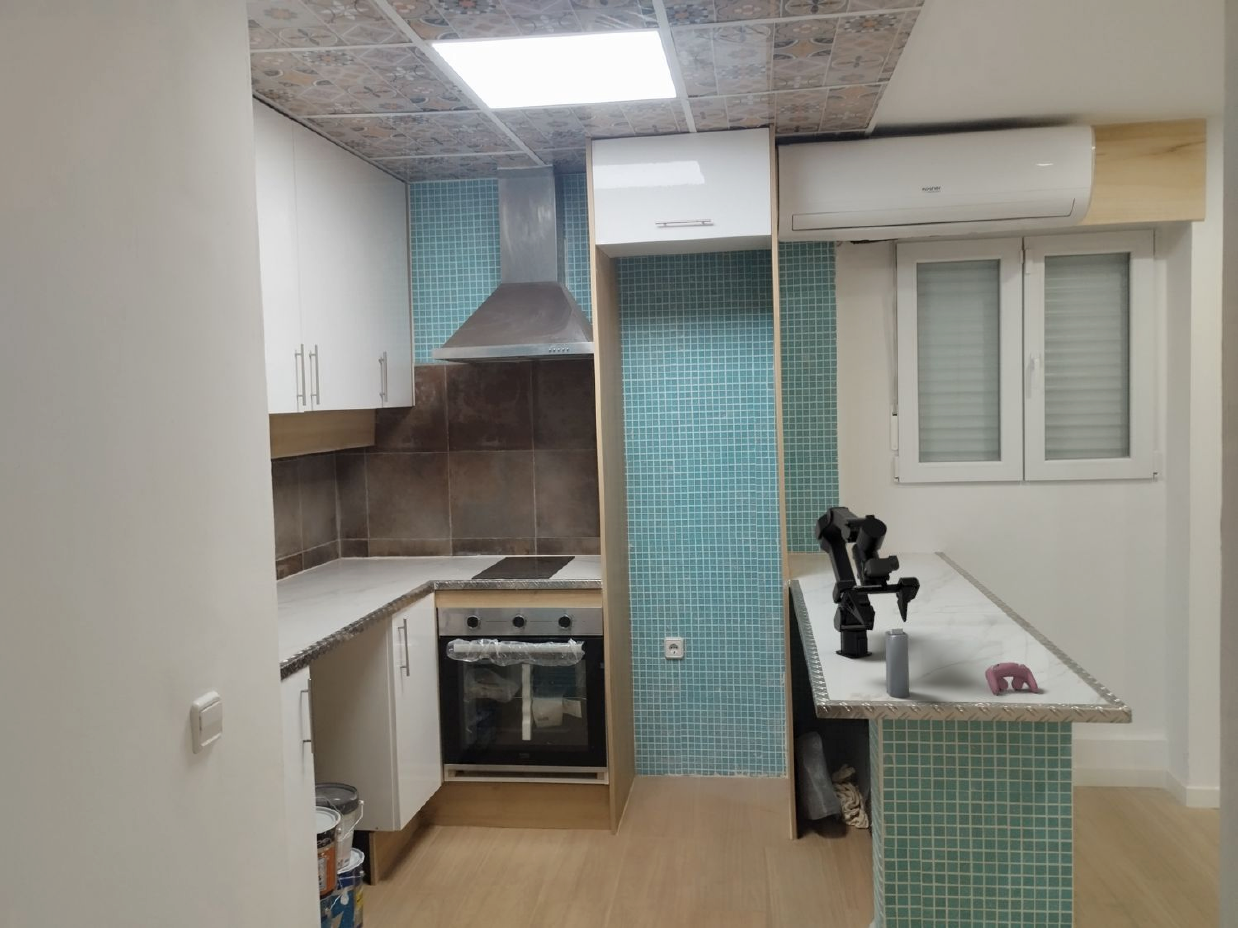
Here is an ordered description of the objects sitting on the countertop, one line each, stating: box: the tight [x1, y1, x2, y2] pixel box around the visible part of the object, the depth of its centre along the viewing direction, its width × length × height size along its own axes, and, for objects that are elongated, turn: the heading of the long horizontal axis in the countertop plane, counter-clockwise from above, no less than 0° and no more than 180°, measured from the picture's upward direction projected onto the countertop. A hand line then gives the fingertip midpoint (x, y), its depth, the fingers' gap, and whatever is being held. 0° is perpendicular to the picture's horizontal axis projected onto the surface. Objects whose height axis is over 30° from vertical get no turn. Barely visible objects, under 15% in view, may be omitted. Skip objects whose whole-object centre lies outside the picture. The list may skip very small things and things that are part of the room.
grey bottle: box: [884, 626, 910, 699], centre depth 214 cm, size 6×4×14 cm, turn 4°
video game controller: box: [984, 661, 1039, 696], centre depth 214 cm, size 10×5×7 cm, turn 92°
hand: (884, 622), depth 222 cm, fingers open, 9 cm apart
